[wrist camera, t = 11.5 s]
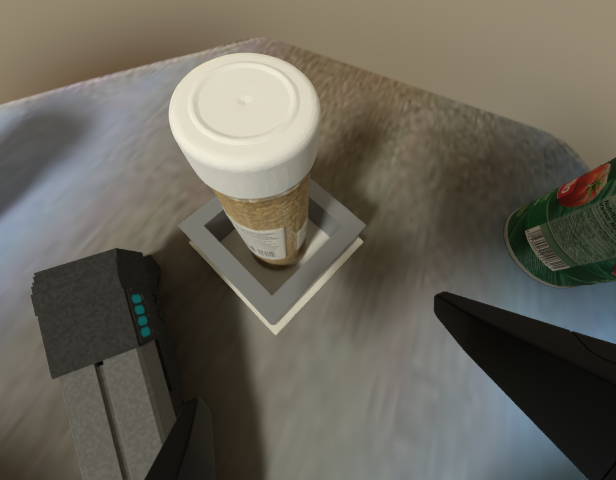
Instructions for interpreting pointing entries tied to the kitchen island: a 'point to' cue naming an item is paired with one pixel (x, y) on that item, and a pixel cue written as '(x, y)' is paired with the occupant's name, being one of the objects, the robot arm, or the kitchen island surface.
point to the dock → (277, 283)
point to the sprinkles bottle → (253, 147)
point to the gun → (110, 359)
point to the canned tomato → (568, 232)
